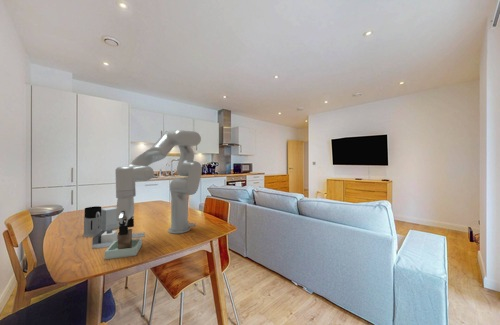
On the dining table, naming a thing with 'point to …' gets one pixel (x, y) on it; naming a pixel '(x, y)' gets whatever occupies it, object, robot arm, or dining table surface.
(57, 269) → the dining table surface
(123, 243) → the stop block
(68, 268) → the dining table surface
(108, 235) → the block
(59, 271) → the dining table surface
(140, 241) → the tray
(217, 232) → the dining table surface
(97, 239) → the piston rail
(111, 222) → the supplement box
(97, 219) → the glass holder
